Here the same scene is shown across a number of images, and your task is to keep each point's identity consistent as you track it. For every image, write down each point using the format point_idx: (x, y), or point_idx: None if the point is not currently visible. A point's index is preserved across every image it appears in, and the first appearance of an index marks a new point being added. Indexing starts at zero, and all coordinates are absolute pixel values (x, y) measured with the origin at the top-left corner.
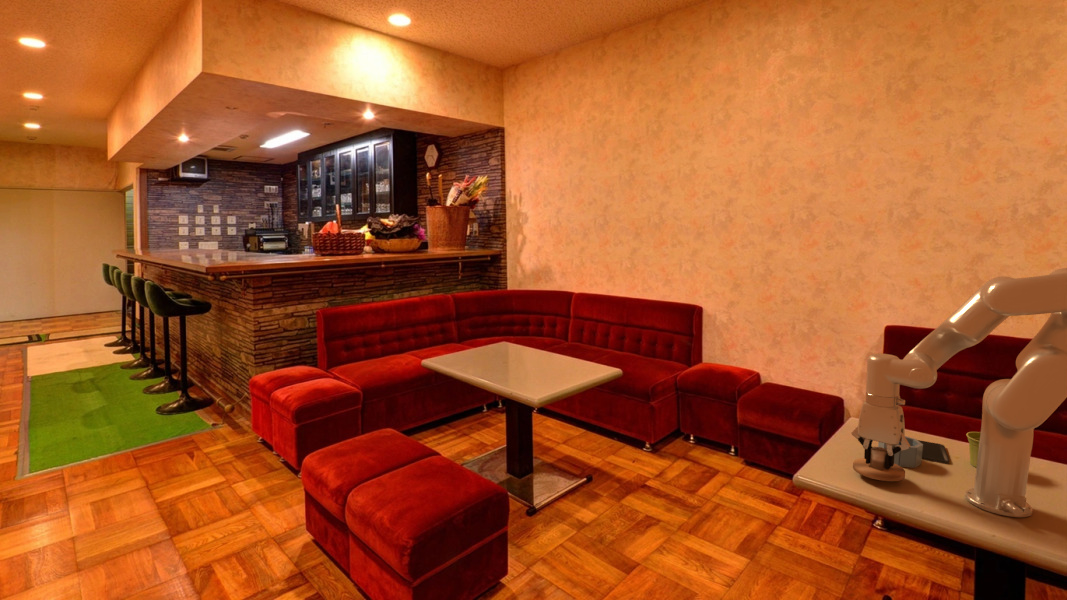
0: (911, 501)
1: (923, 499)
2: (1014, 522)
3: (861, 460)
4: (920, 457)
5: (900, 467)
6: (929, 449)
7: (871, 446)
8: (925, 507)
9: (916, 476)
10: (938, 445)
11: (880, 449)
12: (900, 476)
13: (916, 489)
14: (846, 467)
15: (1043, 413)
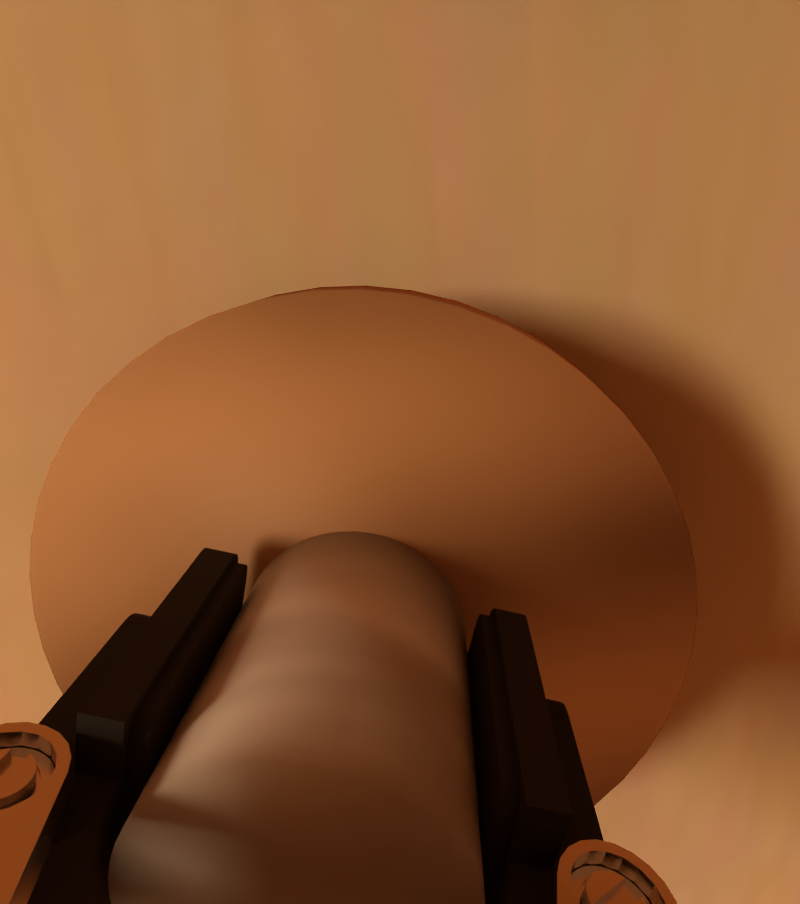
0: (681, 856)
1: (785, 765)
2: None
3: (101, 512)
4: None
5: (636, 473)
6: None
7: (92, 841)
8: (780, 893)
9: (792, 152)
10: None
11: (313, 891)
12: (629, 759)
13: (747, 584)
14: (14, 459)
15: None
